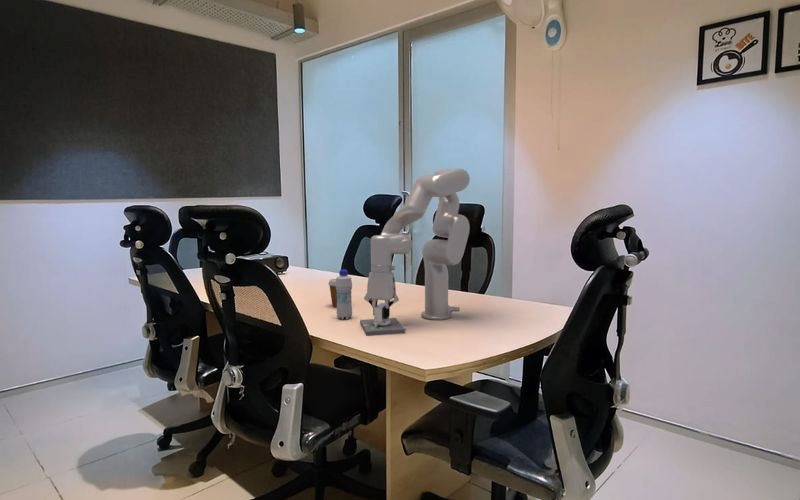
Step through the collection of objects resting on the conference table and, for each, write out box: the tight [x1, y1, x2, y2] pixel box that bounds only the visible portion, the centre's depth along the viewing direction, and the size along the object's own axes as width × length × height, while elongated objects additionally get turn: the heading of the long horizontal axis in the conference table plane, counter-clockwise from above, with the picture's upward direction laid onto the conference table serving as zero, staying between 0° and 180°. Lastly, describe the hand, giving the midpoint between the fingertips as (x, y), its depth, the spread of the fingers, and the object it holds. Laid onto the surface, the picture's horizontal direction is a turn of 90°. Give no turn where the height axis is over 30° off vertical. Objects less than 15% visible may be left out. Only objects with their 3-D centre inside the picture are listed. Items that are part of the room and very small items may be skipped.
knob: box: [372, 302, 391, 327], centre depth 177 cm, size 7×10×7 cm, turn 163°
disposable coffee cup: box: [328, 278, 337, 309], centre depth 215 cm, size 10×10×12 cm
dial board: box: [359, 317, 406, 336], centre depth 179 cm, size 14×17×2 cm
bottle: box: [335, 268, 353, 320], centre depth 193 cm, size 7×7×20 cm
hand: (381, 317), depth 178 cm, fingers closed on knob, 3 cm apart
